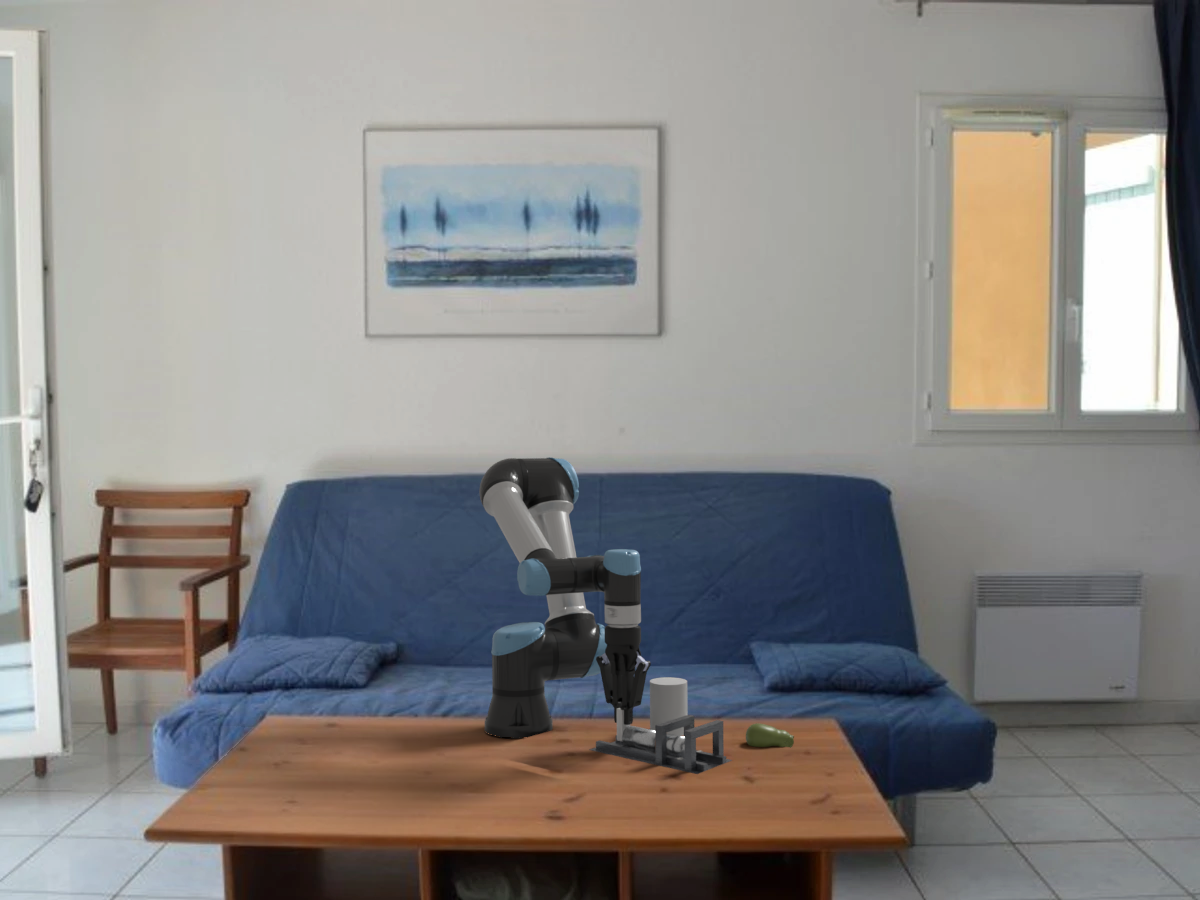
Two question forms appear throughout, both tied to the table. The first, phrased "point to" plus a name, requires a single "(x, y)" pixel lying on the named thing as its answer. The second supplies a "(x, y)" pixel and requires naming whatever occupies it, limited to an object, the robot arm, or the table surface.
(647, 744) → the tube
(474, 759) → the table surface
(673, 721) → the collar rail
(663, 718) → the white cylinder
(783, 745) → the pear
